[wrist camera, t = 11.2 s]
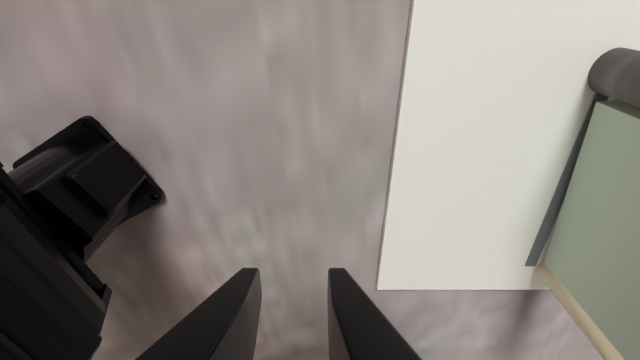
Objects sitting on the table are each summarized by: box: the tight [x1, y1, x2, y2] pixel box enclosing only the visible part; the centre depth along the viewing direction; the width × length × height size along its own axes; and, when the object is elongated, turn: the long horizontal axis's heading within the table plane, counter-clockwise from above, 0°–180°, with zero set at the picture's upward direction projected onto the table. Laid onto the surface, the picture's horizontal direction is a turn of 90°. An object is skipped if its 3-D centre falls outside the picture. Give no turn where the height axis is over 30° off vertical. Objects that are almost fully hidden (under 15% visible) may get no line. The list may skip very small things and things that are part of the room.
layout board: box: [376, 0, 640, 290], centre depth 22 cm, size 27×21×1 cm
